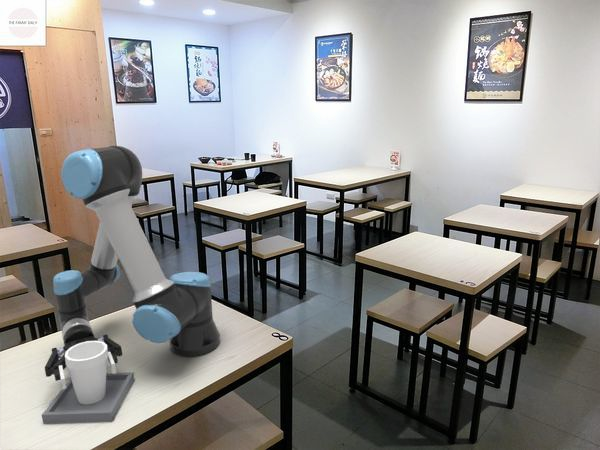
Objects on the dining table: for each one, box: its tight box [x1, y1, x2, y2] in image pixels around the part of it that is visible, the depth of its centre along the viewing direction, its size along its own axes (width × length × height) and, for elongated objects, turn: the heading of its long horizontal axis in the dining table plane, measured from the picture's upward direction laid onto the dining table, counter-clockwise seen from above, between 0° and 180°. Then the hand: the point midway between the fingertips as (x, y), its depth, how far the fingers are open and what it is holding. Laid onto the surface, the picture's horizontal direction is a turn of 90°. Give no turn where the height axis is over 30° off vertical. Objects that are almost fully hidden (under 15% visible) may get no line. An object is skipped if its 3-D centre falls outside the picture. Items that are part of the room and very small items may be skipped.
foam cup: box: [65, 341, 108, 405], centre depth 108 cm, size 10×9×13 cm
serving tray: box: [41, 371, 136, 425], centre depth 110 cm, size 16×16×2 cm
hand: (89, 376), depth 104 cm, fingers open, 10 cm apart
